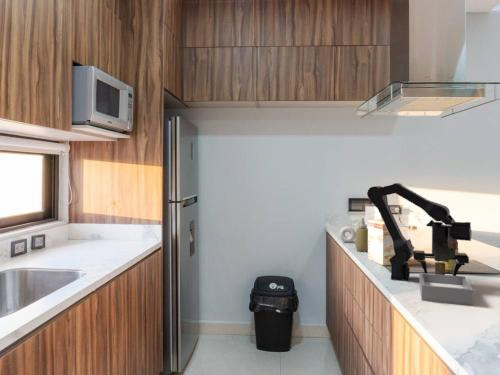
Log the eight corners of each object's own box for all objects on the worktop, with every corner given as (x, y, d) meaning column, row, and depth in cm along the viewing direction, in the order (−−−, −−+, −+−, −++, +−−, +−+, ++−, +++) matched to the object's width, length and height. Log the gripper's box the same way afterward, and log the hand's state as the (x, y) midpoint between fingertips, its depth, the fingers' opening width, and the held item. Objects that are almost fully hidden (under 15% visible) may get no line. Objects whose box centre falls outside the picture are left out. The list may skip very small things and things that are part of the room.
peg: (435, 284, 146) (435, 264, 146) (434, 282, 150) (434, 262, 149) (445, 285, 145) (445, 264, 145) (444, 283, 148) (444, 262, 148)
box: (421, 300, 129) (421, 285, 129) (419, 286, 145) (419, 272, 145) (472, 305, 124) (472, 290, 124) (464, 290, 140) (464, 276, 139)
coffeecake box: (396, 265, 178) (396, 223, 177) (382, 265, 177) (382, 223, 176) (380, 258, 193) (380, 219, 192) (367, 258, 191) (367, 219, 191)
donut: (355, 242, 236) (355, 226, 235) (355, 243, 233) (355, 226, 232) (339, 241, 238) (339, 225, 238) (339, 242, 235) (338, 226, 235)
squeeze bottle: (354, 251, 208) (354, 218, 207) (355, 249, 216) (355, 217, 215) (369, 252, 205) (369, 219, 204) (370, 249, 213) (370, 217, 212)
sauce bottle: (443, 269, 169) (444, 224, 168) (459, 271, 165) (459, 225, 164) (439, 272, 164) (440, 226, 163) (456, 274, 160) (456, 227, 159)
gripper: (414, 240, 143) (414, 282, 143) (471, 243, 136) (471, 287, 137) (413, 235, 153) (413, 274, 154) (466, 238, 146) (466, 279, 147)
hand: (439, 278), depth 147 cm, fingers open, 9 cm apart
